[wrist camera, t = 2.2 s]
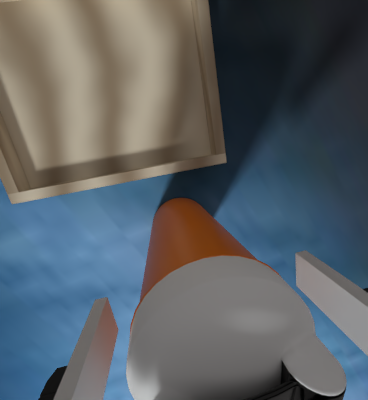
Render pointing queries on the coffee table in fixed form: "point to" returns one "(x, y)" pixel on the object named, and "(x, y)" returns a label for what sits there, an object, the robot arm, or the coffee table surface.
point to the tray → (105, 93)
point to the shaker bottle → (221, 321)
